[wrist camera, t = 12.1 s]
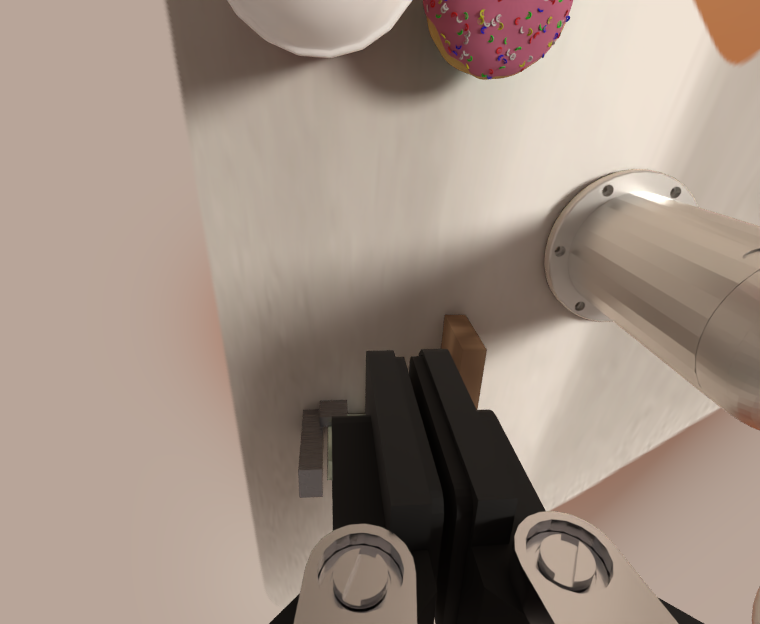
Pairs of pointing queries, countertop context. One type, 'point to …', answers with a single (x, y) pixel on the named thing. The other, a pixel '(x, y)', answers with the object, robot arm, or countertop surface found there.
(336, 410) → the latch post
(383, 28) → the smoothie
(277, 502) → the countertop surface
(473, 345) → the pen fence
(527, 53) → the cupcake
